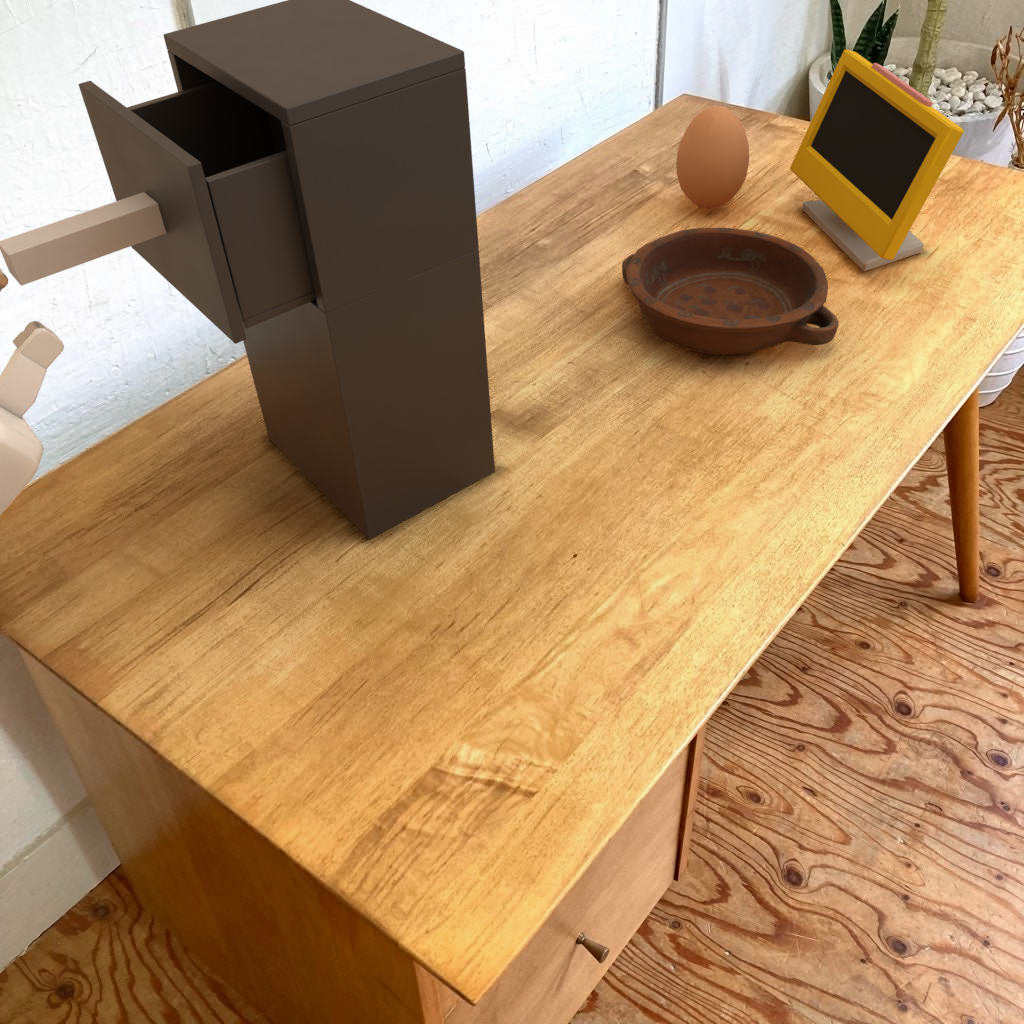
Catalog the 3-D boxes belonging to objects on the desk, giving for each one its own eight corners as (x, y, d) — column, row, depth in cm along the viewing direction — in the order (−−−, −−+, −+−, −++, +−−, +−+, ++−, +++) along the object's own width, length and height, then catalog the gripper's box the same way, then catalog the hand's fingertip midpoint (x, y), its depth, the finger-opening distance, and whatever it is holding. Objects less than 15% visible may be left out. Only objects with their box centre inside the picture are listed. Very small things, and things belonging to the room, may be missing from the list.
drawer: (92, 406, 59) (19, 223, 52) (1, 295, 68) (-72, 126, 61) (397, 277, 68) (374, 103, 60) (281, 194, 77) (248, 35, 70)
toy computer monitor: (784, 197, 116) (806, 51, 105) (850, 186, 117) (878, 40, 106) (874, 289, 101) (909, 130, 91) (947, 276, 103) (991, 117, 92)
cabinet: (369, 539, 79) (285, 108, 57) (268, 438, 89) (162, 33, 66) (495, 471, 85) (464, 50, 62) (387, 382, 94) (326, -12, 71)
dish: (788, 405, 89) (797, 356, 86) (571, 328, 99) (571, 281, 96) (869, 309, 99) (879, 262, 96) (664, 247, 109) (667, 203, 106)
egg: (757, 201, 115) (769, 103, 108) (719, 229, 111) (729, 129, 104) (698, 183, 119) (706, 87, 112) (659, 209, 115) (665, 111, 108)
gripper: (-132, 416, 70) (8, 261, 70) (-39, 591, 58) (129, 403, 58) (-227, 367, 65) (-76, 200, 65) (-147, 548, 53) (38, 342, 53)
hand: (22, 297), depth 61 cm, fingers open, 8 cm apart
